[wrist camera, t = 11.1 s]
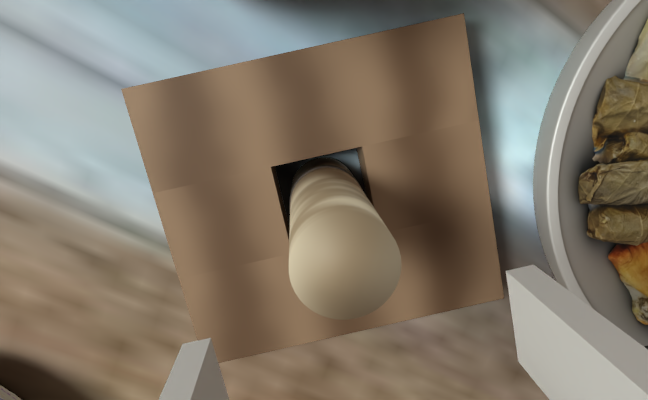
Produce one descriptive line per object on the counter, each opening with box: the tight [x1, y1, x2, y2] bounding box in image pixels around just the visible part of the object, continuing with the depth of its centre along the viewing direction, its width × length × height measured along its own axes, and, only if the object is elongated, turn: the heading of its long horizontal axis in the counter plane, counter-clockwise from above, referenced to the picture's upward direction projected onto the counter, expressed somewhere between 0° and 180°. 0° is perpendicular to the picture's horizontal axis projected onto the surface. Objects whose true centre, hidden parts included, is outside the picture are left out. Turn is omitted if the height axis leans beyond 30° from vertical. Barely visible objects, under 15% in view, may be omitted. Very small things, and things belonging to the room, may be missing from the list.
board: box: [121, 13, 504, 363], centre depth 32 cm, size 20×18×4 cm
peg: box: [289, 157, 401, 320], centre depth 27 cm, size 4×4×15 cm
